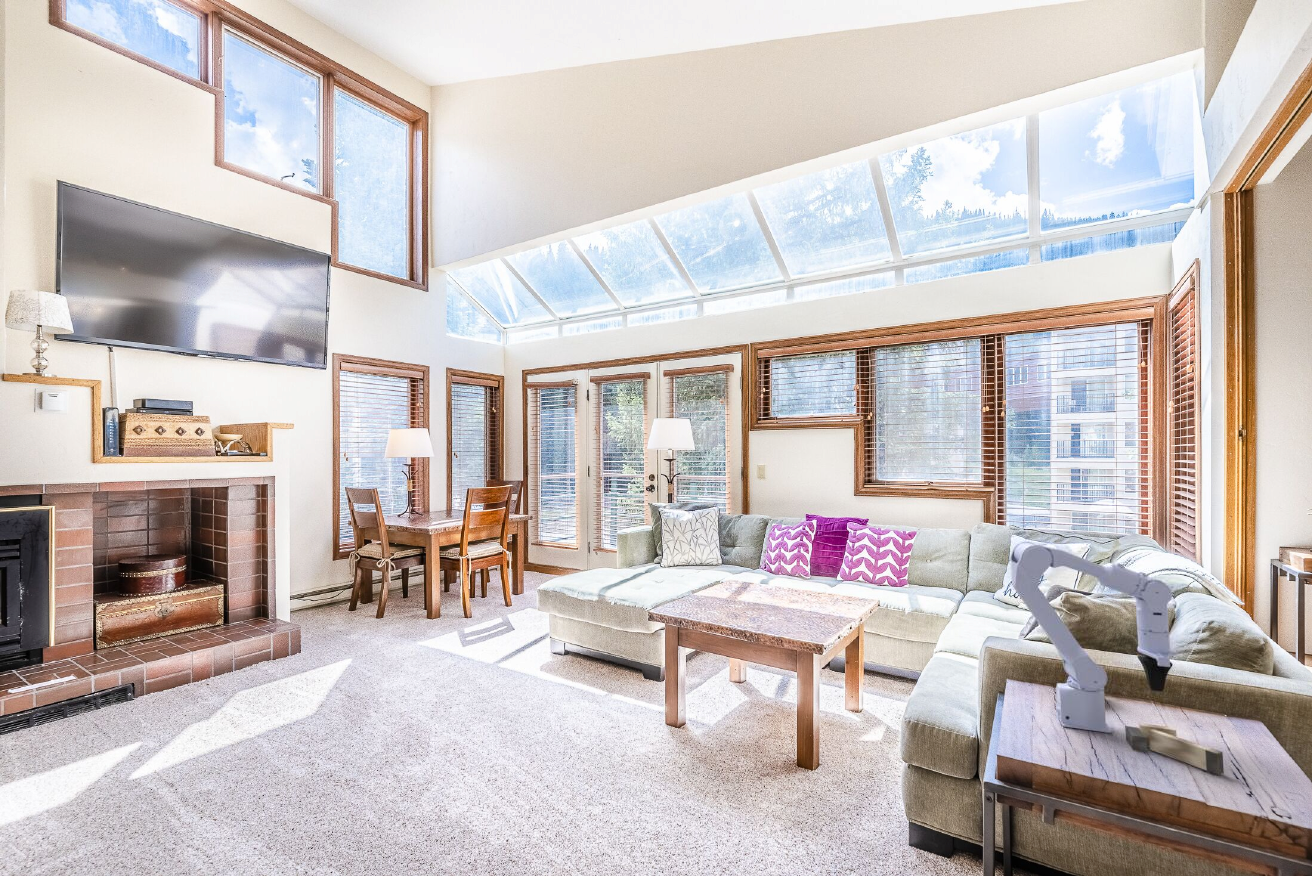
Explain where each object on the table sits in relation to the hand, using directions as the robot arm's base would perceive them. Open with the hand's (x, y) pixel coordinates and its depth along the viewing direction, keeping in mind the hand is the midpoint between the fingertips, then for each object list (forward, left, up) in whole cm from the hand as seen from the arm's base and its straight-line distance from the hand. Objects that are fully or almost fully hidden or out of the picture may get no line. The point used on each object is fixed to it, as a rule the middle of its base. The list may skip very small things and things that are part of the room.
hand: (1156, 690), depth 141 cm
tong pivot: (-4, -11, -9) cm, 15 cm away
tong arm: (0, -16, -9) cm, 19 cm away
